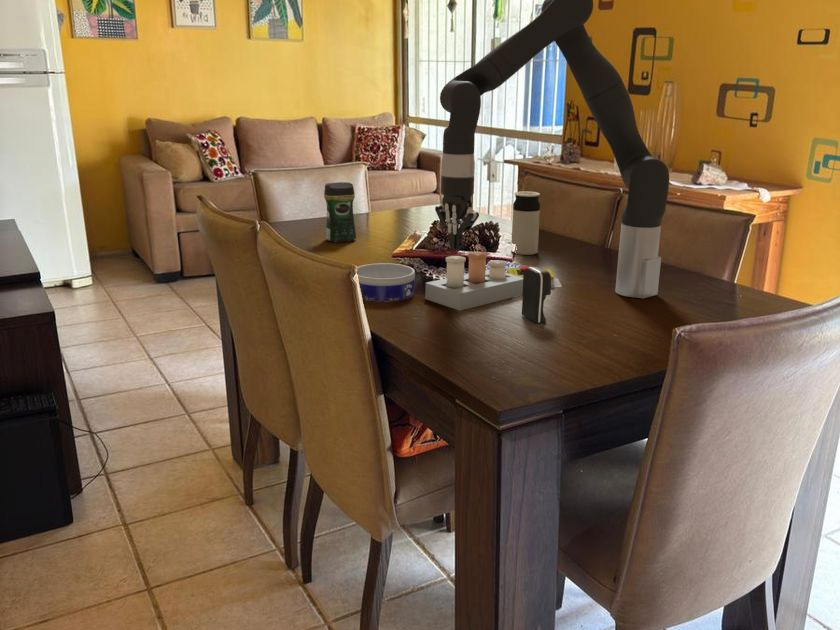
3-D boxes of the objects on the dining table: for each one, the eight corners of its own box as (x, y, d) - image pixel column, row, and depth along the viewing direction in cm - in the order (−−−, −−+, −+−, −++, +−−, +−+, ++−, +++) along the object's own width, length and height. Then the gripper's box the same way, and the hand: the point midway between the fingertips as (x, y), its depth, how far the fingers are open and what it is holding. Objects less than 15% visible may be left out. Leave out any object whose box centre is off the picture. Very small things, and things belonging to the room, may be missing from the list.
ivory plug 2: (509, 290, 188) (511, 262, 186) (496, 293, 185) (497, 265, 183) (496, 286, 191) (497, 259, 189) (483, 289, 188) (484, 262, 186)
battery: (551, 322, 165) (554, 271, 162) (535, 324, 164) (538, 273, 160) (535, 313, 171) (538, 264, 168) (520, 315, 170) (523, 265, 166)
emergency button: (501, 263, 201) (558, 264, 200) (500, 279, 202) (557, 280, 202) (503, 271, 192) (563, 272, 191) (503, 288, 193) (562, 289, 193)
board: (525, 294, 186) (526, 278, 185) (459, 310, 173) (459, 293, 172) (491, 284, 195) (491, 269, 194) (425, 298, 182) (425, 282, 181)
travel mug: (525, 256, 225) (528, 195, 220) (505, 252, 231) (508, 192, 226) (542, 253, 230) (546, 193, 225) (523, 248, 236) (525, 190, 231)
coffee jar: (352, 237, 251) (351, 180, 245) (358, 241, 243) (357, 183, 238) (323, 238, 248) (321, 181, 242) (328, 243, 240) (326, 184, 235)
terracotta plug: (490, 283, 183) (491, 254, 181) (476, 286, 180) (477, 257, 178) (476, 279, 186) (477, 251, 184) (463, 282, 183) (463, 253, 181)
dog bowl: (401, 306, 177) (401, 280, 175) (341, 299, 182) (340, 274, 180) (423, 289, 190) (423, 266, 189) (367, 283, 195) (367, 260, 194)
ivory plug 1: (468, 287, 178) (469, 258, 176) (454, 291, 176) (455, 261, 174) (455, 283, 182) (456, 255, 180) (441, 286, 179) (441, 257, 177)
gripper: (490, 175, 168) (487, 252, 174) (450, 169, 178) (448, 242, 183) (465, 178, 164) (462, 256, 169) (426, 171, 173) (424, 246, 179)
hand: (455, 249), depth 176 cm, fingers closed
